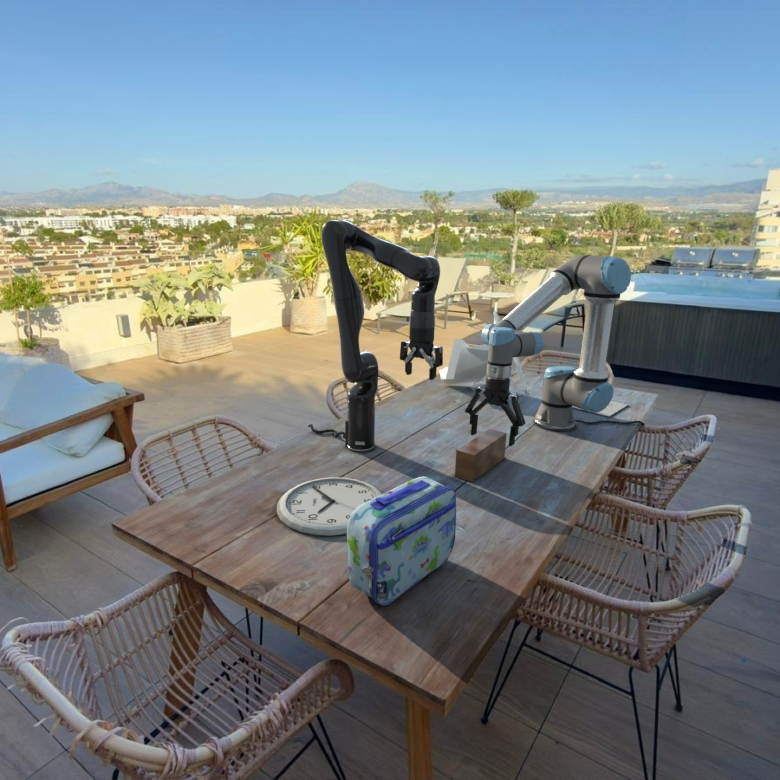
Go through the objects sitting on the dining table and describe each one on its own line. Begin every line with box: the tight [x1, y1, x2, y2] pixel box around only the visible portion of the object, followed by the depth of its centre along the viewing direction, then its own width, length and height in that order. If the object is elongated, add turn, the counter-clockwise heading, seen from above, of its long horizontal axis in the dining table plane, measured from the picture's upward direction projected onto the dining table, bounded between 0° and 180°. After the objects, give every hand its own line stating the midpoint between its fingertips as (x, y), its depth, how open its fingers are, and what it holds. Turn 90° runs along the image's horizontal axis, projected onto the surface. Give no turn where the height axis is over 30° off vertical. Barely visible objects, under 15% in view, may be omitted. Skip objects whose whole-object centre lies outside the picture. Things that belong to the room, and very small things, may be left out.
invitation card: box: [573, 400, 629, 418], centre depth 226 cm, size 21×1×15 cm
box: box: [454, 428, 508, 483], centre depth 166 cm, size 22×6×9 cm, turn 143°
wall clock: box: [276, 476, 384, 537], centre depth 142 cm, size 30×2×30 cm
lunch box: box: [346, 475, 457, 607], centre depth 111 cm, size 26×11×21 cm, turn 134°
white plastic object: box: [438, 310, 531, 397], centre depth 245 cm, size 37×45×31 cm
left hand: (420, 376), depth 162 cm, fingers open, 8 cm apart
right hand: (492, 439), depth 171 cm, fingers open, 13 cm apart
